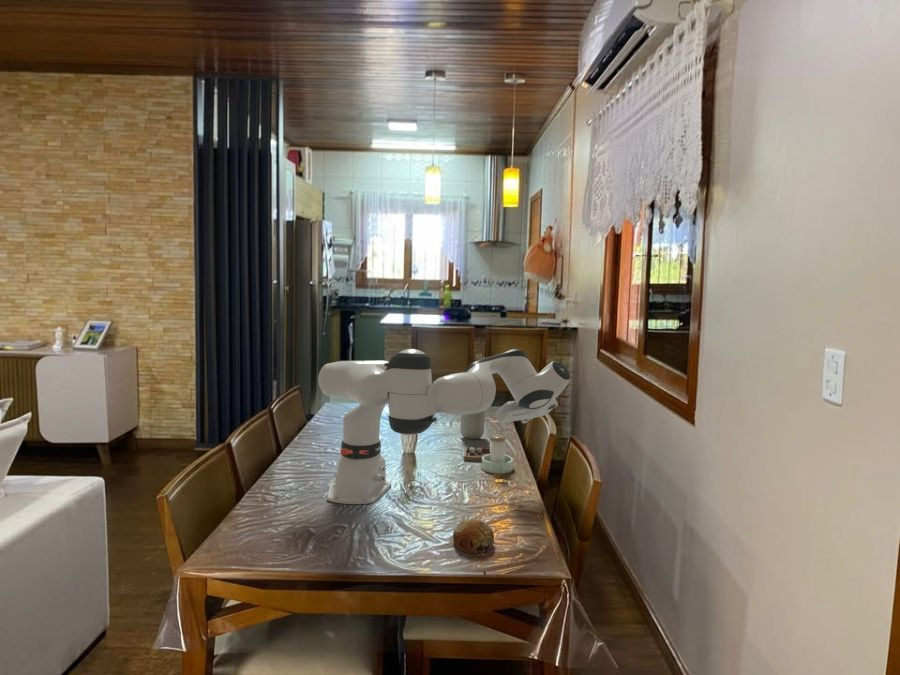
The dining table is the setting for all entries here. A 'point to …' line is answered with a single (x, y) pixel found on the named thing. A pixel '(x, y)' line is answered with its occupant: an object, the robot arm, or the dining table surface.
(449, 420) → the dining table surface
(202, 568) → the dining table surface
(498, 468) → the bowl
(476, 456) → the pebble tray
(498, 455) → the jar
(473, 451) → the pebble
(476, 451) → the pebble
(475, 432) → the grey bottle
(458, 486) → the dining table surface
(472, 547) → the bread roll
